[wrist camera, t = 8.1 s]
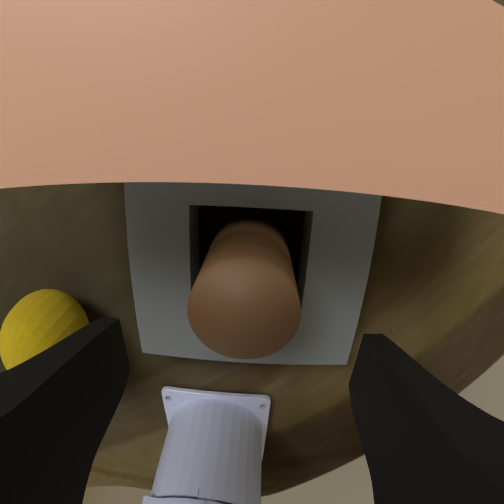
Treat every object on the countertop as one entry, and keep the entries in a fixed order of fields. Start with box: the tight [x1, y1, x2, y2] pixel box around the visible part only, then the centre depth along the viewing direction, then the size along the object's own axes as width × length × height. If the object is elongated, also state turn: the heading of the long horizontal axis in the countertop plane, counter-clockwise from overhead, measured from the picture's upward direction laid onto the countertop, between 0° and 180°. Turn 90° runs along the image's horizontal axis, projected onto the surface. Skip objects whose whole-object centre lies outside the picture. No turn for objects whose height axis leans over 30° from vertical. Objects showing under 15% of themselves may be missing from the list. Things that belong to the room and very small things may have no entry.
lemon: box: [0, 289, 89, 370], centre depth 16 cm, size 6×6×8 cm
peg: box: [187, 211, 301, 359], centre depth 14 cm, size 4×4×7 cm
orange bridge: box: [0, 0, 504, 214], centre depth 10 cm, size 6×18×10 cm, turn 87°
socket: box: [124, 182, 382, 365], centre depth 16 cm, size 12×12×2 cm
